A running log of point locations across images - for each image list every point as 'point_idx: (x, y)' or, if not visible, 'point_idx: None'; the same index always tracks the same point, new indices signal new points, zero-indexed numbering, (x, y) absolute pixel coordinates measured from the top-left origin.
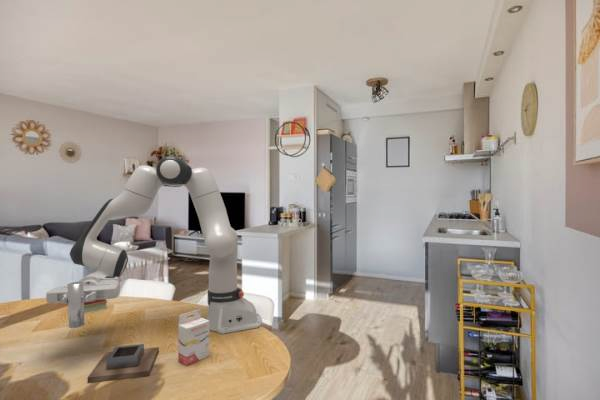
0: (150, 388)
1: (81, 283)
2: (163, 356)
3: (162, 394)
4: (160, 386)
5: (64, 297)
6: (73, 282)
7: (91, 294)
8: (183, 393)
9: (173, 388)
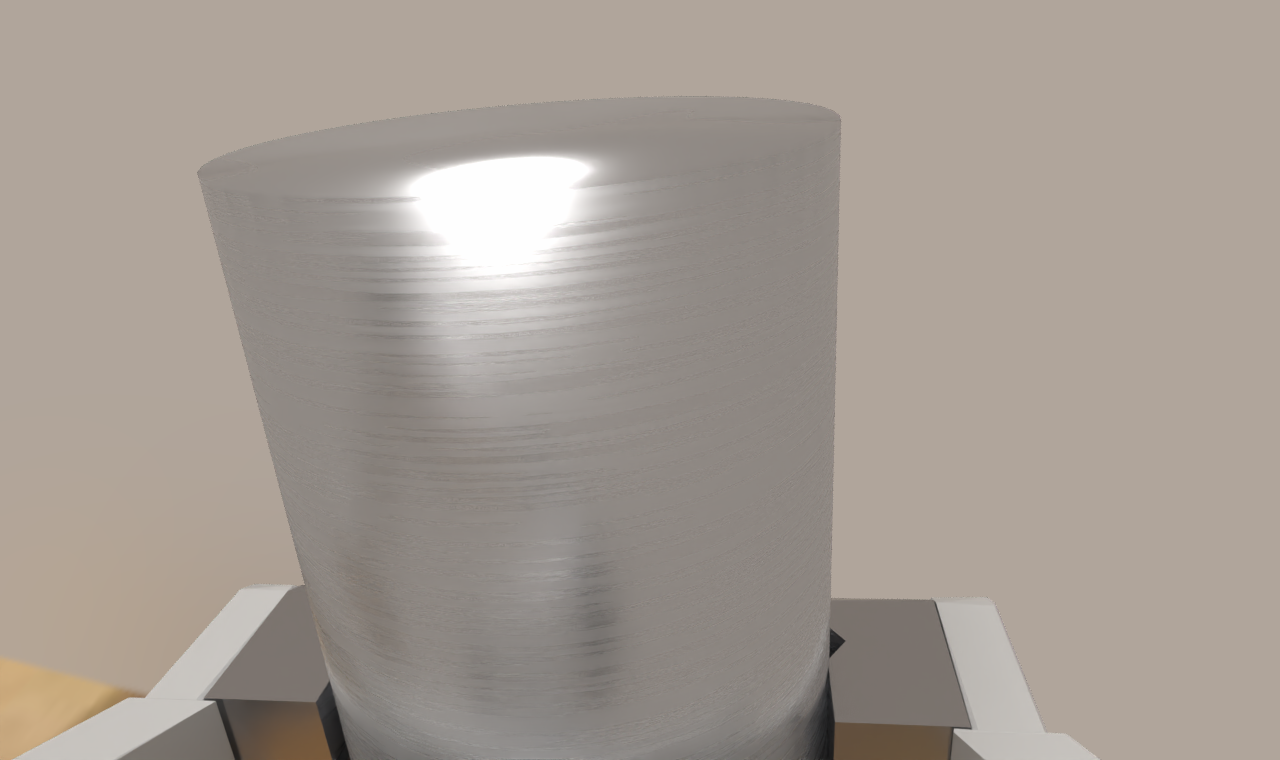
0: None
1: (294, 136)
2: None
3: (97, 682)
4: None
5: (972, 646)
6: (682, 170)
7: (48, 756)
8: (4, 667)
9: (11, 716)
